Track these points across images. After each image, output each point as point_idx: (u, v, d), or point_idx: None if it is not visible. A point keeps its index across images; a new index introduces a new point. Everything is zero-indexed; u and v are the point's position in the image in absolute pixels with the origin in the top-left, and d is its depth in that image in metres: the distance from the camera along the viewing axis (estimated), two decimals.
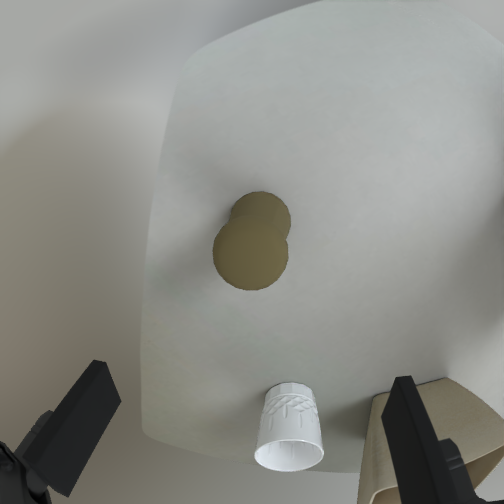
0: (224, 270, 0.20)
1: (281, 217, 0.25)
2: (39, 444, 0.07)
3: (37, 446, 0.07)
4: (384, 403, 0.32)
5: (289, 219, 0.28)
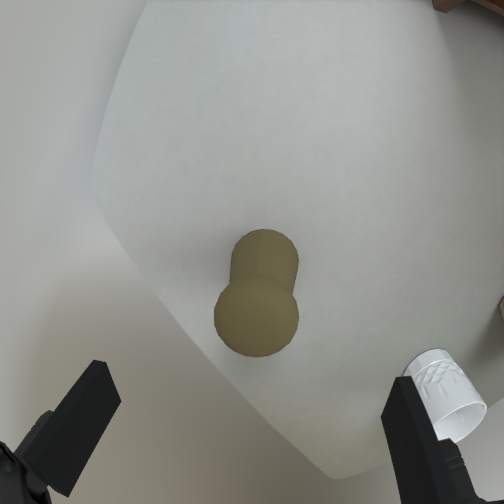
0: (244, 352, 0.17)
1: (268, 251, 0.22)
2: (39, 444, 0.07)
3: (37, 446, 0.07)
4: None
5: (283, 239, 0.25)
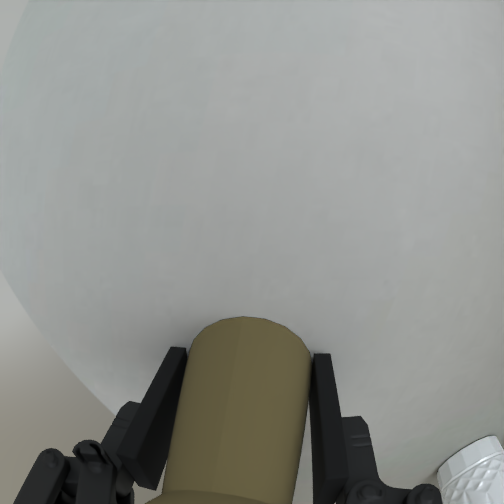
0: None
1: (249, 393, 0.09)
2: (135, 436, 0.08)
3: (133, 439, 0.08)
4: None
5: (285, 341, 0.12)
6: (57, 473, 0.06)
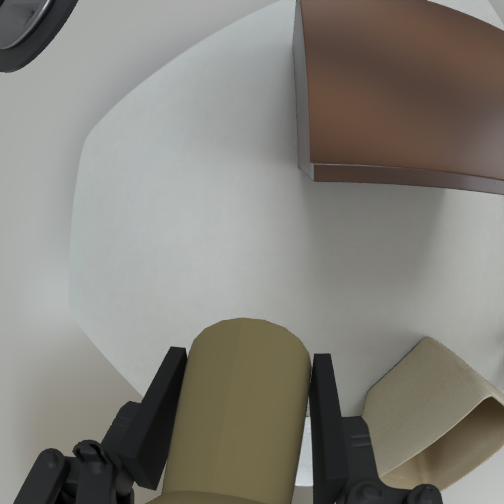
0: None
1: (249, 394, 0.09)
2: (135, 436, 0.08)
3: (133, 438, 0.08)
4: (369, 399, 0.36)
5: (285, 343, 0.12)
6: (57, 473, 0.06)
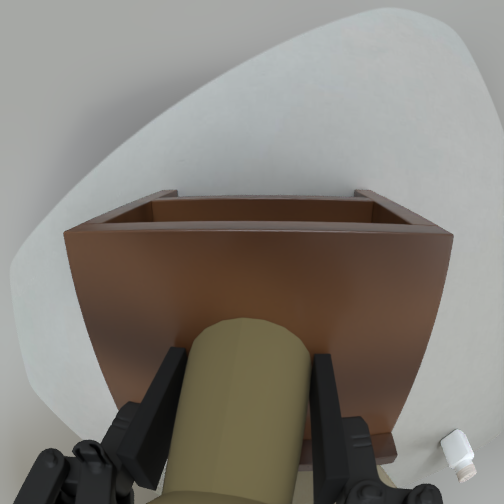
0: None
1: (249, 394, 0.09)
2: (134, 436, 0.08)
3: (132, 439, 0.08)
4: None
5: (285, 342, 0.12)
6: (57, 473, 0.06)
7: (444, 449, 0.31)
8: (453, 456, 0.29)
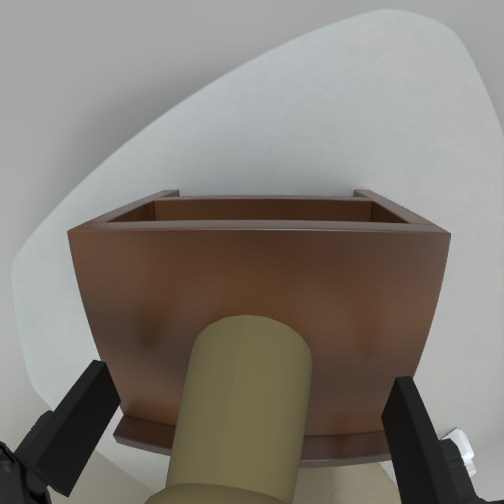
0: None
1: (252, 388, 0.09)
2: (39, 444, 0.07)
3: (37, 446, 0.07)
4: None
5: (286, 339, 0.12)
6: None
7: None
8: None
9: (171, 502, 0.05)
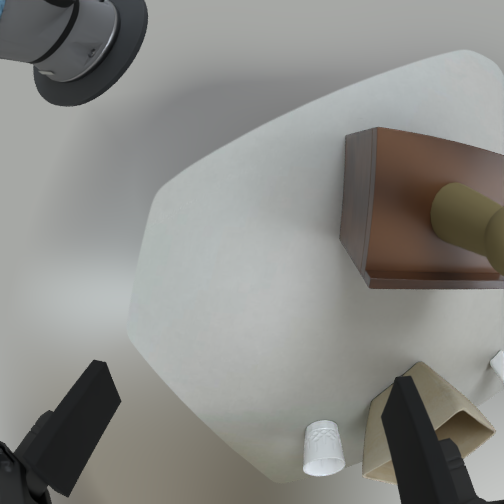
0: None
1: (484, 196, 0.19)
2: (39, 444, 0.07)
3: (37, 446, 0.07)
4: (373, 407, 0.45)
5: None
6: None
7: (494, 366, 0.41)
8: (503, 370, 0.39)
9: None
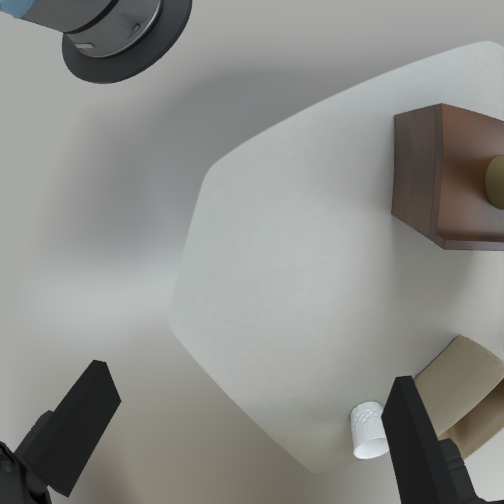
0: None
1: None
2: (39, 444, 0.07)
3: (37, 446, 0.07)
4: (418, 384, 0.44)
5: None
6: None
7: None
8: None
9: None
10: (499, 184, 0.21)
